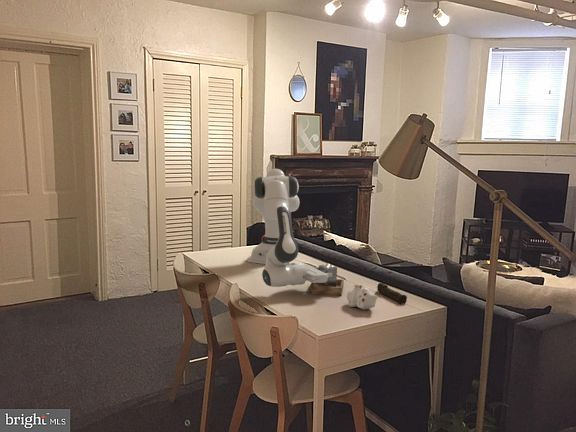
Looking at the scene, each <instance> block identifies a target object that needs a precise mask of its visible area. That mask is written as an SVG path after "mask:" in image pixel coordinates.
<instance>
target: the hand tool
mask: <svg viewBox="0 0 576 432" xmlns="http://www.w3.org/2000/svg"><path fill="white" fill-rule="evenodd" d="M376 289H377V292H378V293H379V294H380V295H382V296H386V297H389V298H390V299H393V301H396V302H398V304H399V303H404V304H406V303H407V299H408V296H407V295H406V294H402V293H400V292H399V291H396V290H394V289H391V288H390V287H388V285H387V284H385V283H383V282H378V284H377V287H376Z"/></svg>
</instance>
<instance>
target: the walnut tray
mask: <svg viewBox="0 0 576 432" xmlns="http://www.w3.org/2000/svg"><path fill="white" fill-rule="evenodd" d="M344 281H345V279H340V278H337V281H336V287H328V286H318V283H311V282H310V285H309V294H317V295H328V296H338V297H339V296H340V297H342V294H343V290H344V284H345V282H344Z"/></svg>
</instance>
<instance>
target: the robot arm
mask: <svg viewBox="0 0 576 432" xmlns="http://www.w3.org/2000/svg"><path fill="white" fill-rule="evenodd" d="M299 189H300V185H299V182H298V179H297V178H296V177H295V176H292V175H288V176H286V175H285V173H284V171H282V169H279V168H272V169H270V170H269V171H268V172H267V173H266V176H264V177H263V176H260V177H257V178H255V179H254V182H253V184H252V190H253V193H254V196H253V199H252V206H253V208H254V209H255V210H256V211H258V213H260V215H261V216H262V218H263V220H264V228H265V229H264V230H265V234H264V235H262V237H261V243H259V244H257V245H256V246H255V247H254V248H253V249H252V251H251V254H250V256H248V257H247V259H246V260H247V261H246V262H247V263H253V264H254V263H255V264H261V265H262V264H263V265H264V268H263V269H262V273H261V275H262V280H263V282H264V283H265V285H266V286H268V287H272V288H273V287H274V288H278V287H279V288H280V287H286V286H299V285H304V284H306V281H307V282H309V283H310V284H311V283H325V282H327V279H328V277H332V273H331V272H327V273H324V272H322V271H320V270H319V266H318V267H316V266H311V265H309V264H307V263H296V262H292V261H294V260H295V259H297V257H298V255H299V246H298V244H297V241H296V240H295V236H294V229H293V221H292V215H291V213H292V212H296V211H297V210H298V209H299V207H300V203H301V202H300V198H299V196H298V192H299Z"/></svg>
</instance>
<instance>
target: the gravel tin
mask: <svg viewBox="0 0 576 432" xmlns="http://www.w3.org/2000/svg"><path fill="white" fill-rule="evenodd" d="M318 267H319V270H320V271H322V272H324V273H327V272H331V273H332V277H328V279H327V282H325V283H318V286H328V287H336V281H337V279H338V278H337V276H338V267H337V266H335V265H332V264H330V263H326V264H320V265H319V264H318Z"/></svg>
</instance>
